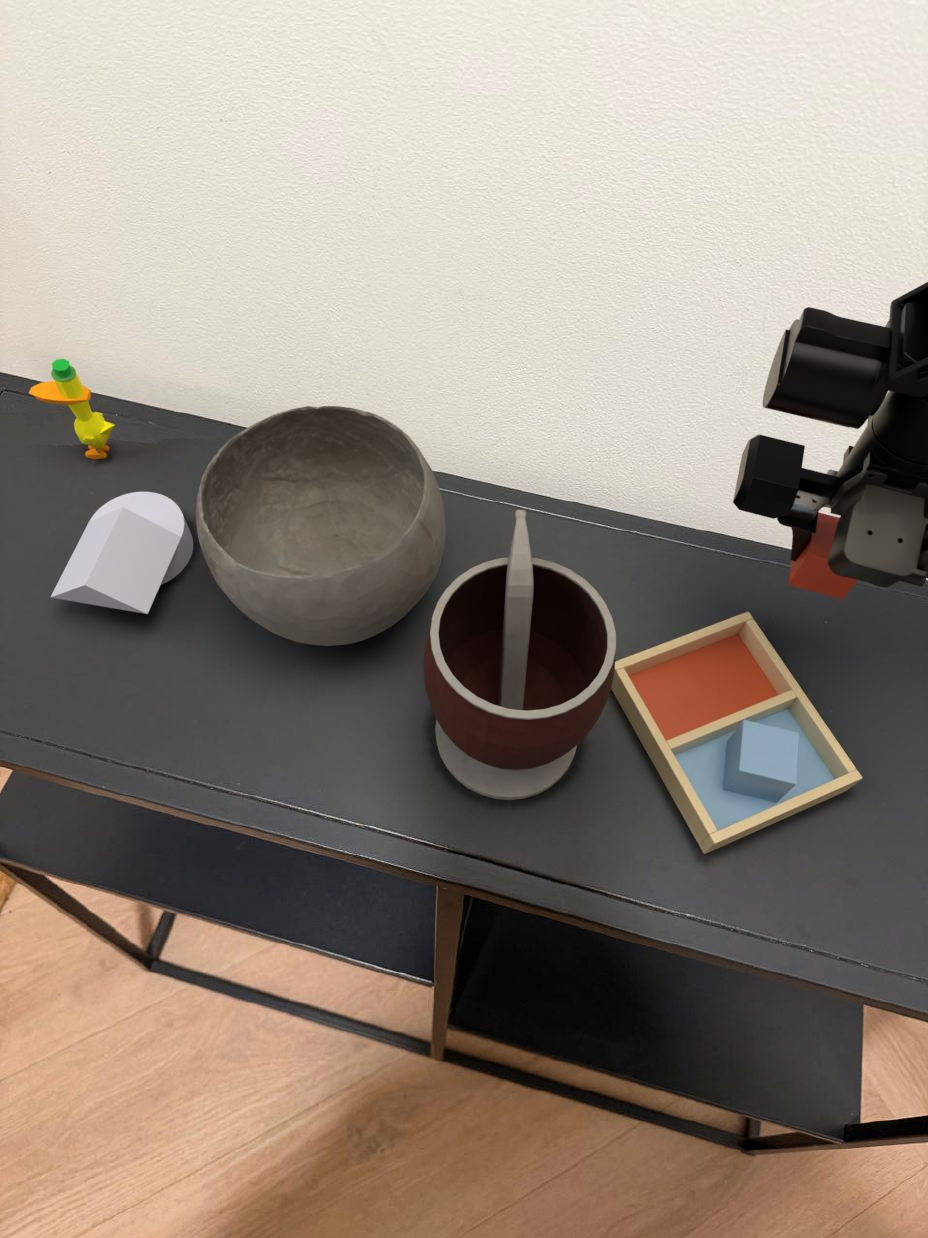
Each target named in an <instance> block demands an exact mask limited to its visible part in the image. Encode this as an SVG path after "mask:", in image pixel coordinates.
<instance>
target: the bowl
mask: <svg viewBox="0 0 928 1238" xmlns="http://www.w3.org/2000/svg"><path fill="white" fill-rule="evenodd" d="M444 504H445V503H444V500H443V495H442V492H441V490H440V487H439V484H438V482H437V479H436V476H435V475H434V471H433V469H432V467H431V466H430V464H429V462H428V460H427V459H426V458H425V457H424V454H423V453H422V451H421V450H420V448H419V447H418V446H417V444H416V443H415V442H414V441H413V439H412V438H411V437H410V435H408V434H407V433H406V432H405V431H403V430H402V429H401V428H400V427H399V426H397V425H396V424H394V422H391V420H388V419H387V418H384V417H383V416H381V415H379V414H376V413H373V412H370V411H365V410H362V409H359V408H353V407H347V406H339V405H323V406H322V405H321V406H313V405H312V406H311V405H307V406H301V407H296V408H291V409H287V410H284V411H281V412H278V413H275V414H272V415H270V416H268V417H266V418H264V419H261V420H260V421H257V422H256V423H254V424H252V425H250V426H248V427H246V428H245V429H243V430H242V431H240V432H238V433H236V434H234V435H233V436H232V437H231V438H230V439H228V440H227V441H226V442H225V443H223V445H222V446H221V447H220V448H219V449H218V451H217V453H216V454H214V455H213V457H212V459H211V460H210V462H209V463H208V464H207V465H206V468H205V470H204V472H203V473H202V477H201V480H200V483H199V487H198V491H197V496H196V508H195V524H196V532H197V538H198V542H199V544H200V548H201V552H202V554H203V557H204V560H205V563H206V565H207V567H208V568H209V571H210V573H211V575H212V577H213V579H214V581H215V582H216V584H217V586H218V587H219V588H220V590H221V591H222V592H223V593H224V594H225V596H227V598H228V599H229V600H230V601H231V603H232V604H233V605H234V606H235V607H236V608H237V609H239V611H240V612H241V613H242V614H244V615H245V616H246V617H247V618H249V619H250V620H251V621H252V622H254V623H256V625H257V624H258V625H259V626H261V627H263V629H265V630H267V631H268V632H271V633H272V634H275V635H277V636H280V637H282V638H284V639H286V640H290V641H292V642H295V643H300V644H306V645H312V646H325V647H330V646H331V647H332V646H342V645H350V644H355V643H359V642H362V641H365V640H367V639H370V638H372V637H374V636H376V635H378V634H380V633H382V632H384V631H386V630H387V629H390V628H391V627H392V626H393V625H395V624H396V623H398V622H399V621H400V620H401V619H403V618H405V616H407V614H408V613H409V612H410V611H411V610H413V608H414V607H415V606H416V605H417V604H418V603H419V602H420V601H421V600H422V598H424V596H425V595H426V593H427V592H428V591H429V589H430V587H431V586H432V584H433V583H434V582H435V579H436V578H437V575H438V572H439V569H440V567H441V563H442V559H443V554H444V552H445V546H446V536H447V521H446V511H445V510H446V509H445V505H444Z"/></svg>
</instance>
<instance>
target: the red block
mask: <svg viewBox="0 0 928 1238" xmlns="http://www.w3.org/2000/svg"><path fill="white" fill-rule="evenodd" d="M839 518H840V516H839V517H838V516H835V515H831V514H827V513H823V512H820V511H819V512H818V520H817V528H816V533H815V534H814V533H811V535H810V537H809V539H808V541H807V543H806V545H805V548H804V550H803V552H802V554H801V555H800V556H799V557H798V559H797V560H796V561H792V560H790V568H789V574H788V575H789V576H788V583H787V584H788V586H790V587H794V588H799V589H802V590H806V591H809V592H813V593H817V594H820V595H825V596H828V597H832V598H835V599H839V600H844V599H845V597H846V596H847V594H848V593H849V592H850V591H851V589H852V588H853V587H855V585H856V584H857V582H858V581H859V580H857V579H853V578H848V577H842V576H838V575H836V574H834V573H833V572H832V571H831V570H830V568H829V566H828V558H829V554H830V552H831V549H832V544H833V540H834V536H835V532H836V528H837V523H838V520H839Z"/></svg>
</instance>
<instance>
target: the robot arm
mask: <svg viewBox="0 0 928 1238" xmlns="http://www.w3.org/2000/svg"><path fill="white" fill-rule="evenodd" d="M888 318H889V319H888V321H887V322H886V324H885V326H883V325H878V324H874V323H869V322H865V321H861V320H856V319H851V318H846V317H842V316H840V315H839V316H838V315H836V314H834V313H832V312H830V311H827V310H824V309H819V308H815V307H811V306H808V307H806V308H803V310H802V312H801V314H800V317H799V319H798V318H796V319H795V320H794V321H793V322H792V323H791V325H790V327H789V329H785V330H784V332H783V333H782V337H781V339H780V341H779V343H778V346H777V350H776V351H775V354H774V357H773V360H772V363H771V366H770V369H769V372H768V376H767V379H766V382H765V386H764V391H763V396H762V408H764V409H769V410H773V411H777V412H781V413H784V414H788V415H793V416H796V417H797V416H798V417H801V418H802V417H803V418H807V419H811V420H815V421H818V422H822V423H826V424H831V425H836V426H839V427H844V428H849V429H850V428H851V429H855V430H859V429H860V428H861V427H862V426H863V425H864V424H866V423H867V425H866V426H865V428H864V430H863V431H862V433H861V435H860V436H859V438H858V439H857V441H856V442H855V444H854V445H848V447H847V449H846V450H845V452H844V453H843V460H842V465H841V466H840V468H839V469H838V470H835V469H828V470H827V472H826V473H825V472H821V471H816V470H813V469H809V468H804V467H803V462H804V455H805V449H806V445H804V444H800V443H797V442H796V443H795V442H791V441H788V440H783V439H779V438H776V437H772V436H767V435H763V434H757V435H755V436H753V437H751V438H749V439H748V440H747V443H746V446H745V447H744V449H743V451H742V453H741V458H740V463H739V469H738V474H737V479H736V484H735V489H734V495H733V500H732V504H733V505H734V506H735V507H736V508H737V509H738V510H739V511H741V512H746V513H749V514H754V515H758V516H762V517H765V518H770V519H776V520H777V522H778V523H779V524H780V525H782V526H784V527H788V528H790V529H791V532H792V541H791V550H790V561H796V560H797V559H798V557H799V556H800V555H801V554H802V552H803V550H804V548H805V545H806V543H807V541H808V539H809V537H810V535H811V533H814V534H815V533H816V528H817V520H818V512H819V513H820V511H821V510H822V508H828V509H830V514H833V515H836V516H839V520H838V523H837V528H836V532H835V536H834V540H833V544H832V549H831V552H830V554H829V558H828V566H829V568H830V570H831V571H832V572H833V573H834V574H836V575H838V576H842V577H848V578H853V579H857V580H858V581H861V582H864V583H867V584H871V585H874V586H876V587H881V588H888V587H889V588H890V587H891V586H893V585H896V584H897V583H898V582H901V583H906V584H910V585H914V586H918V587H923V586H924V585H925V583H926V581H927V579H928V281H927V282H924V283H923V284H921V285H919V286H917V287H916V288H914V289H911V290H910V291H907V292H906V293H904V294H902V295H900V296H899V297H897V298H895V299H893V300H892V301H891V302H890V305H889V317H888ZM866 421H867V422H866Z"/></svg>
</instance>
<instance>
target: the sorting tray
mask: <svg viewBox="0 0 928 1238" xmlns="http://www.w3.org/2000/svg"><path fill="white" fill-rule="evenodd" d="M611 691H612V693H613V694H614V696H615V698H616V700H617V702H618V704H619V705H620V707H621V709H622V711H623V712H624V715H625V716H626V718H627V720H628V722H629V723H630V725H631V726H632V729H633V731H634V733H635V734H636V736H637V737H638V739H639V741H640V743H641V744H642V745H641V746H643V748H644V750H645V751H646V754H647V755H648V757H649V759H650V761H651V763H652V764H653V766H654V768H655V769H656V772H657V773H658V775H659V777H660V779H661V781H662V782H663V784H664V786H665V787H666V790H667V791H668V792H669V795H670V796H671V798H672V800H673V802H674V804H675V805H676V807H677V809H678V811H679V812H680V814H681V816H682V818H683V820H684V821H685V823H686V825H687V827H688V829H689V830H690V832H691V834H692V835H693V838H694V839H695V841H696V843H697V844H698V846H699V849H700V850H701V852H702V854H703V855H706V854H708V853H711V852H713V851H715V850H718V849H719V848H722V847H724V846H727V845H729V844H731V843H733V842H736V841H737V840H739V839H742V838H745V837H747V836H748V835H751V834H753V833H756V832H757V831H760V830H762V829H764V828H766V827H769V826H771V825H774V824H776V823H778V822H781V821H782V820H785V819H787V818H789V817H791V816H793V815H796V814H798V813H800V812H802V811H805V810H808V809H810V808H811V807H814V806H816V805H818V804H821V803H823V802H825V801H827V800H830V799H832V798H834V797H836V796H838V795H841V794H843V793H845V792H847V791H848V790H850V789H851V788H852V787H854V786H855V785H856V784H858V783H859V782H860V781H861V780H862V779H863V776H862V775H861V773H860V772H859V770H858V769H857V768H856V766H855V765H854V762H852V760H851V758H850V757H849V756H848V754H847V753H846V751H845V750H844V749H843V747H842V746H841V744H840V743H839V741H838V740H837V738H836V737H835V735H834V734H833V732H832V731H831V730H830V728H829V727H828V725H827V724H826V722H825V721H824V720H823V718H822V716H821V715H820V714H819V712H818V711H817V709H816V708H815V707H814V705H813V704H812V702H811V700H810V699H809V697H808V696H807V695H806V693H805V691H804V690H803V689H802V688H801V686H800V684H799V683H798V682H797V680H796V678H795V677H794V675H793V673H791V672H790V669H789V668H788V666H787V665H786V664H785V663H784V661H783V660H782V658H781V657H780V655H779V654H778V652H777V651H776V650H775V648H774V647H773V645H772V644H771V642H770V640H769V639H768V638H767V637H766V635H765V633H764V632H763V631H762V629H761V627H759V625H758V623H757V622H756V620H755V619H754V617H753V616H752V614H751V613H750V612H749V611H745V612H742V613H740V614H738V615H735V616H732V617H730V618H727V619H725V620H722V621H718V622H715V623H714V624H711V625H709V626H706V627H703V628H700V629H698V630H695V631H692V632H690V633H688V634H684V635H681V636H680V637H677V638H674V639H671V640H669V641H666V642H664V643H660V644H658V645H655V646H653V647H650V648H648V649H645V650H643V651H639V652H637V653H635V654H632V655H628V656H626V657H624V658H621V659H619V660H618V659H617V660H615V670H614V678H613V682H612V687H611ZM743 720H747V721H752V722H756V723H760V724H764V725H769V726H773V727H777V728H782V729H786V730H790V731H794V732H799V751H798V771H797V784H796V785H795V786H794V787H793V788H792V789H791V790H790V791H789V792H788V793H787V794H786V795H785V796H784V797H782V798H781V799H780V800H779V801H778V802H773V801H768V800H764V799H760V798H756V797H752V796H748V795H744V794H740V793H736V792H731V791H727V790H723V780H724V770H725V759H726V749H727V741H728V739H729V738H730V737H731V735H732V734H733V733H734V732H735V730H736V729H737V728H738V726H739V725H740V724H741V722H742V721H743Z"/></svg>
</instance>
